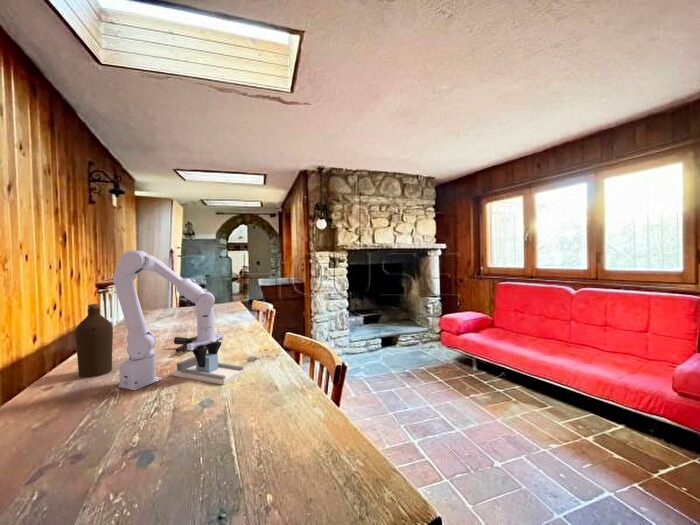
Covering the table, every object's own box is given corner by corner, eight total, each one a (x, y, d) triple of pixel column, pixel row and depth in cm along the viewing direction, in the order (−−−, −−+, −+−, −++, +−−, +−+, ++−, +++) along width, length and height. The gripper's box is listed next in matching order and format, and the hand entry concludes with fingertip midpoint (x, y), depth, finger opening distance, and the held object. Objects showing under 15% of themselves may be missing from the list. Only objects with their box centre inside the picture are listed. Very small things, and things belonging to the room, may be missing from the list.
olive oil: (120, 369, 116) (118, 302, 115) (88, 380, 106) (85, 307, 105) (102, 366, 120) (100, 301, 119) (69, 376, 110) (67, 305, 109)
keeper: (209, 372, 108) (208, 358, 107) (196, 370, 110) (195, 356, 110) (218, 368, 111) (217, 354, 111) (205, 366, 113) (205, 352, 113)
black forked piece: (204, 346, 130) (220, 337, 145) (158, 342, 130) (179, 332, 145) (203, 359, 130) (219, 348, 145) (157, 354, 131) (178, 344, 146)
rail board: (224, 384, 101) (223, 372, 101) (173, 375, 110) (173, 364, 110) (245, 373, 111) (244, 362, 111) (196, 365, 119) (196, 355, 119)
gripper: (197, 332, 102) (198, 373, 102) (229, 323, 115) (230, 359, 116) (182, 330, 104) (183, 370, 105) (215, 321, 118) (216, 357, 118)
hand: (207, 364), depth 110 cm, fingers closed on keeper, 4 cm apart
